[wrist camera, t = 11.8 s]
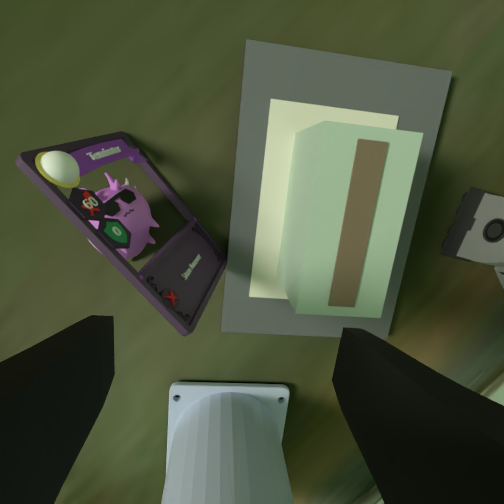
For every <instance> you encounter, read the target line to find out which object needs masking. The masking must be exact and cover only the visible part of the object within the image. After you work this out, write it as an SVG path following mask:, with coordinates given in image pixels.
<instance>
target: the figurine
mask: <svg viewBox="0 0 504 504" xmlns="http://www.w3.org/2000/svg"><path fill="white" fill-rule="evenodd" d="M462 201H463V202H464V203H463V205H461V206H460V207H458V209H457V211H456V213H457V215H458V217H457V219H456V221H455V223H454V225H453V226H451V227H450V228H449V229H448V235H449V237H448V238H446V239H445V240H444V241H443V243H442V246H443V250H442V253H441V254H442V255H445V256H449V257H453V258H456V259H461V260H465V261H470V262H471V260H472V261H475V262H479V263H483V264H486V265H492V266H495V267H494V270H495V272H496V274H497V276H498V278H499V281H500V283H501V285H502V287H503V289H504V197H501V196H499V195H496V194H493V193H490V192H487V191H483V190H480V189H476V188H473V187H470V190H469V192H466V193H465V194H464V195H463V197H462Z"/></svg>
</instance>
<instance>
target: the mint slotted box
mask: <svg viewBox="0 0 504 504" xmlns="http://www.w3.org/2000/svg"><path fill="white" fill-rule="evenodd" d="M422 137H423V133H419V132H411V131H403V130H396V129H388V128H380V127H372V126H364V125H356V124H349V123H341V122H333V121H323V122H320V123H318V124H316V125H313V126H311V127H308V128H306V129H304V130H301V131H299V132H297V133H295V137H294V145H293V153H292V160H291V168H290V176H289V183H288V191H287V199H286V206H285V214H284V222H283V229H282V237H281V245H280V252H279V260H278V268H277V277H278V279H279V281H280V283H281V285H282V287H283V289H284V291H285V293H286V295H287V297H288V299H289V302H290V304H291V306H292V308H293V310H294V312H295V314H311V315H330V316H350V317H369V318H381V314H382V310H383V305H384V301H385V297H386V292H387V288H388V284H389V280H390V275H391V271H392V267H393V262H394V258H395V254H396V249H397V245H398V241H399V236H400V232H401V228H402V224H403V219H404V215H405V211H406V206H407V202H408V198H409V193H410V189H411V185H412V180H413V176H414V172H415V168H416V163H417V159H418V155H419V150H420V146H421V142H422Z"/></svg>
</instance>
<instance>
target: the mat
mask: <svg viewBox="0 0 504 504" xmlns="http://www.w3.org/2000/svg"><path fill="white" fill-rule="evenodd" d="M451 76H452V71H446V70H439V69H433V68H426V67H420V66H414V65H407V64H401V63H395V62H388V61H382V60H375V59H369V58H363V57H356V56H350V55H343V54H337V53H331V52H324V51H318V50H312V49H305V48H299V47H292V46H286V45H280V44H273V43H267V42H260V41H254V40H248V39H247V40H246V47H245V59H244V70H243V82H242V93H241V105H240V116H239V128H238V139H237V150H236V162H235V173H234V185H233V196H232V208H231V219H230V231H229V242H228V254H227V265H226V277H225V288H224V300H223V311H222V323H221V332H236V333H258V334H280V335H302V336H324V337H341V335H342V330H343V327H345V328H362V329H364V330H366V331H368V332H370V333H372V334H374V335H375V336H377V337H379V338H381V339H387V338H388V334H389V330H390V326H391V321H392V317H393V313H394V309H395V305H396V301H397V297H398V293H399V289H400V285H401V281H402V277H403V272H404V268H405V264H406V260H407V256H408V252H409V248H410V244H411V240H412V236H413V232H414V228H415V223H416V219H417V215H418V211H419V207H420V203H421V199H422V195H423V191H424V187H425V183H426V179H427V174H428V170H429V166H430V162H431V158H432V154H433V150H434V146H435V142H436V138H437V134H438V129H439V125H440V121H441V117H442V113H443V109H444V105H445V101H446V97H447V93H448V89H449V85H450V80H451ZM323 121H333V122H341V123H349V124H356V125H364V126H372V127H380V128H388V129H396V130H403V131H411V132H419V133H423V137H422V142H421V146H420V150H419V155H418V159H417V163H416V168H415V172H414V176H413V180H412V185H411V189H410V193H409V198H408V202H407V206H406V211H405V215H404V219H403V224H402V228H401V232H400V236H399V241H398V245H397V249H396V254H395V258H394V262H393V267H392V271H391V275H390V280H389V284H388V288H387V292H386V297H385V301H384V305H383V310H382V314H381V318H369V317H350V316H330V315H311V314H295V312H294V310H293V308H292V306H291V304H290V302H289V299H288V297H287V295H286V293H285V291H284V289H283V287H282V285H281V283H280V281H279V279H278V277H277V268H278V260H279V252H280V245H281V237H282V229H283V222H284V214H285V206H286V199H287V191H288V183H289V176H290V168H291V160H292V153H293V145H294V137H295V133H297V132H299V131H301V130H304V129H306V128H308V127H311V126H313V125H316V124H318V123H320V122H323Z"/></svg>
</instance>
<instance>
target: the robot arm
mask: <svg viewBox="0 0 504 504" xmlns="http://www.w3.org/2000/svg"><path fill="white" fill-rule="evenodd" d="M114 375H115V371H114V323H113V316H97V315H92V316H89V317H87V318H85V319H83V320H81V321H79V322H77V323H75V324H73V325H71V326H69V327H67V328H66V329H64V330H62V331H60V332H58V333H56V334H55V335H53V336H51V337H49V338H47V339H45V340H43V341H41V342H40V343H38V344H36V345H34V346H32V347H30V348H28V349H26V350H24V351H22V352H20V353H18V354H16V355H14V356H12V357H10V358H8V359H6V360H4V361H2V362H0V504H54V502H55V500H56V498H57V496H58V494H59V492H60V489H61V487H62V485H63V483H64V482H65V480H66V478H67V476H68V474H69V472H70V470H71V468H72V466H73V464H74V462H75V460H76V458H77V456H78V454H79V452H80V450H81V449H82V447H83V445H84V443H85V441H86V439H87V437H88V435H89V433H90V431H91V429H92V427H93V425H94V423H95V421H96V419H97V417H98V415H99V413H100V411H101V409H102V407H103V405H104V402H105V400H106V397H107V394H108V392H109V389H110V386H111V383H112V380H113V377H114ZM332 382H333V385H334V389H335V392H336V395H337V398H338V401H339V404H340V407H341V410H342V412H343V415H344V417H345V419H346V421H347V423H348V425H349V428H350V430H351V432H352V434H353V436H354V438H355V440H356V442H357V445H358V447H359V449H360V451H361V453H362V455H363V457H364V459H365V461H366V463H367V466H368V468H369V470H370V472H371V474H372V476H373V478H374V480H375V482H376V485H377V487H378V489H379V492H380V494H381V496H382V498H383V501H384V503H385V504H504V406H503V405H501V404H498V403H497V402H494V401H492V400H490V399H488V398H486V397H484V396H482V395H480V394H478V393H476V392H474V391H472V390H470V389H468V388H466V387H464V386H462V385H460V384H458V383H456V382H454V381H453V380H451V379H449V378H447V377H445V376H443V375H442V374H440V373H438V372H436V371H434V370H433V369H431V368H429V367H428V366H426V365H424V364H422V363H421V362H419V361H417V360H416V359H414V358H412V357H411V356H409V355H407V354H406V353H404V352H402V351H401V350H399V349H397V348H396V347H394V346H392V345H391V344H389V343H387V342H386V341H384V340H382V339H381V338H379V337H377V336H375V335H374V334H372V333H370V332H368V331H366V330H364V329H362V328H345V327H343V330H342V335H341V340H340V345H339V349H338V354H337V359H336V364H335V368H334V373H333V378H332ZM289 394H290V393H289V388H288V387H287V386H286V385H283V384H247V383H209V382H175V383H173V384H172V385H171V387H170V391H169V416H168V440H167V464H166V480H165V486H164V491H163V497H162V502H161V504H294V501H293V497H292V492H291V487H290V482H289V478H288V473H287V468H286V464H285V459H284V454H283V450H282V445H281V444H282V438H283V432H284V425H285V419H286V413H287V407H288V400H289ZM175 395H179V396H180V397H175ZM280 397H284V398H283V399H279V398H280Z"/></svg>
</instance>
